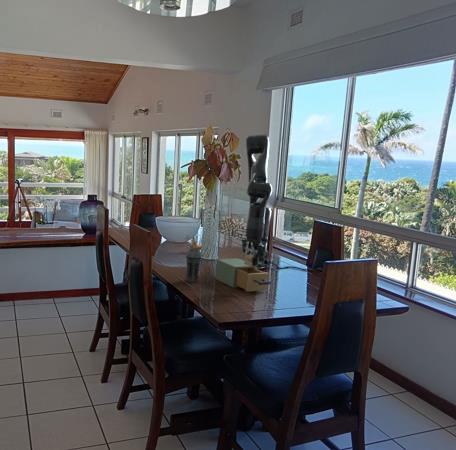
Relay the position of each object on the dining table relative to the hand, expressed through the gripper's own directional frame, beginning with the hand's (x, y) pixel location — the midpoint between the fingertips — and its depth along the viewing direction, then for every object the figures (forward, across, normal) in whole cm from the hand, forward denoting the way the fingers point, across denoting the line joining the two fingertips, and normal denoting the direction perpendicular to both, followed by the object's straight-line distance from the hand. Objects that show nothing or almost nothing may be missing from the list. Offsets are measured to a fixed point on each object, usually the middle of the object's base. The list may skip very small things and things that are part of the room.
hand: (250, 264), depth 206 cm
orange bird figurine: (+12, +68, -15) cm, 70 cm away
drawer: (+11, -2, 0) cm, 11 cm away
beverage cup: (+12, +16, +20) cm, 28 cm away
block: (0, 0, 0) cm, 0 cm away
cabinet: (+11, +10, 0) cm, 16 cm away
